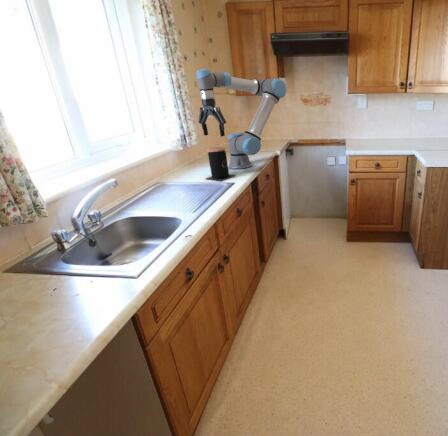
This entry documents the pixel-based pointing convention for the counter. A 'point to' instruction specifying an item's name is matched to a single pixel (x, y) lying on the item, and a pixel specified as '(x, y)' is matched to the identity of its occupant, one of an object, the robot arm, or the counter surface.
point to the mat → (220, 179)
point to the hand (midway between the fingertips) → (214, 135)
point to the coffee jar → (218, 162)
